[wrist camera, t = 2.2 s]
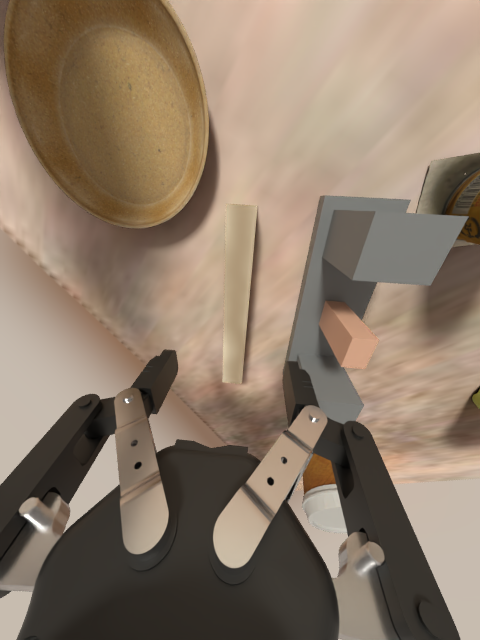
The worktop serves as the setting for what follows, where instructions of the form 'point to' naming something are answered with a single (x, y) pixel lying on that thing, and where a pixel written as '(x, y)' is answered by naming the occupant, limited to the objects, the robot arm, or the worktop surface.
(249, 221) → the ash bar
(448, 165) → the condiment
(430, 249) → the display stand
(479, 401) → the plant pot
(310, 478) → the disposable coffee cup
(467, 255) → the worktop surface
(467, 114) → the worktop surface
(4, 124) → the worktop surface
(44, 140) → the plant saucer
